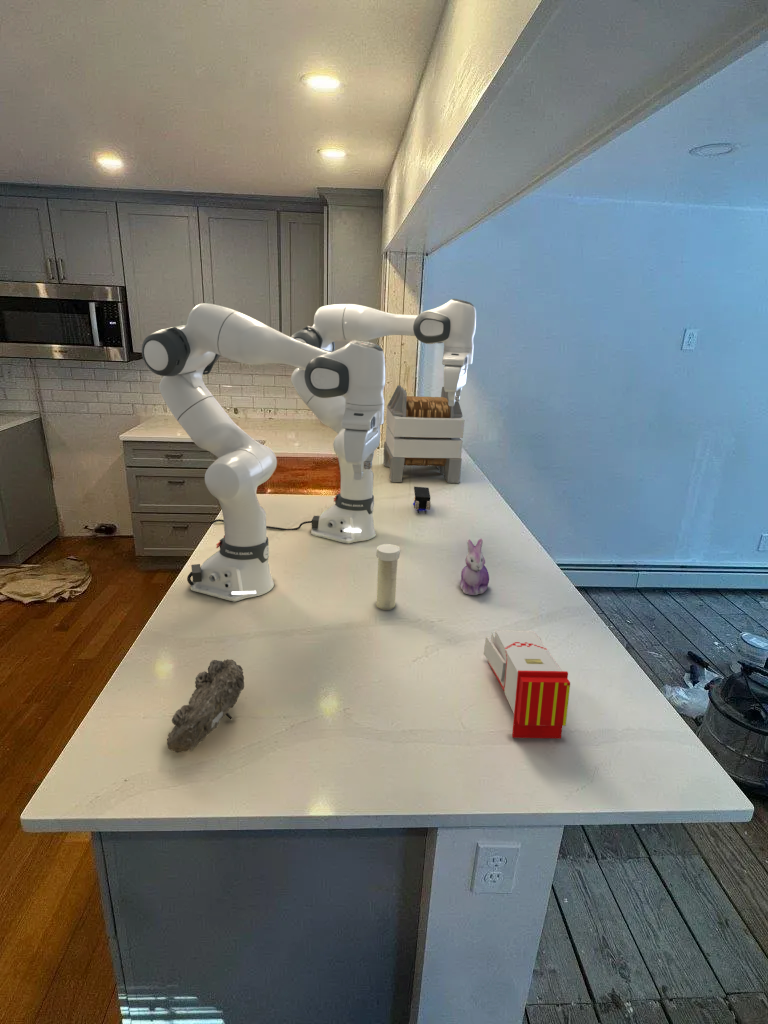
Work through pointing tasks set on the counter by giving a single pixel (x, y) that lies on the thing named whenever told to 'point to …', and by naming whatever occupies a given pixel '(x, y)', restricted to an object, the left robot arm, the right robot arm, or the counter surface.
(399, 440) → the transformer
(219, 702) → the fossil
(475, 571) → the figurine
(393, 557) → the lid
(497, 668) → the toy
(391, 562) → the jar
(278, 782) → the counter surface
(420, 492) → the figurine character
